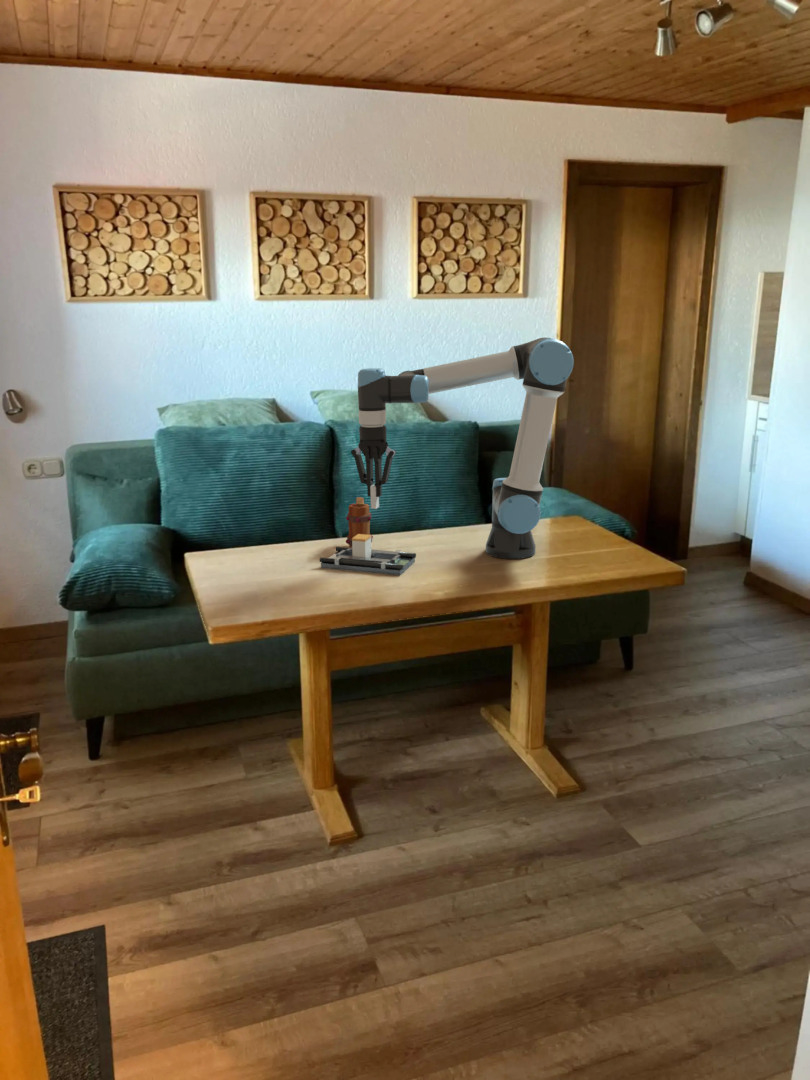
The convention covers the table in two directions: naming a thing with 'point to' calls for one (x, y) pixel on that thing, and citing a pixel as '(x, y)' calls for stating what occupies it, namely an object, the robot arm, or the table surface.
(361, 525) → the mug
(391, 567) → the panel
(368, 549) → the orange grey block
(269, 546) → the table surface
